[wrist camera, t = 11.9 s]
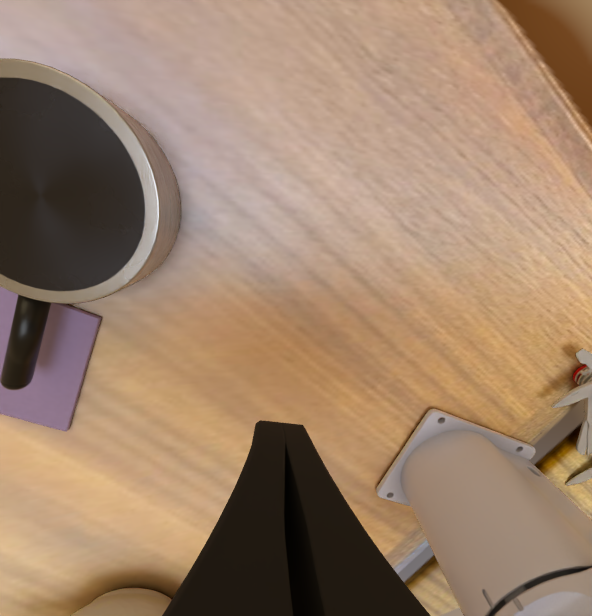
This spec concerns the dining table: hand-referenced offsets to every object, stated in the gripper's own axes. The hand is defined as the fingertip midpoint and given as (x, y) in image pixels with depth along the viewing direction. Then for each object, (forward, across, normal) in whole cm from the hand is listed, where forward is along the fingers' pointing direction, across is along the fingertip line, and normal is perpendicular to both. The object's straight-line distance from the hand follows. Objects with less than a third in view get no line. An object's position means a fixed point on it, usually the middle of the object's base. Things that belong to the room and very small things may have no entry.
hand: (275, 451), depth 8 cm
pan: (+9, +11, -3) cm, 15 cm away
